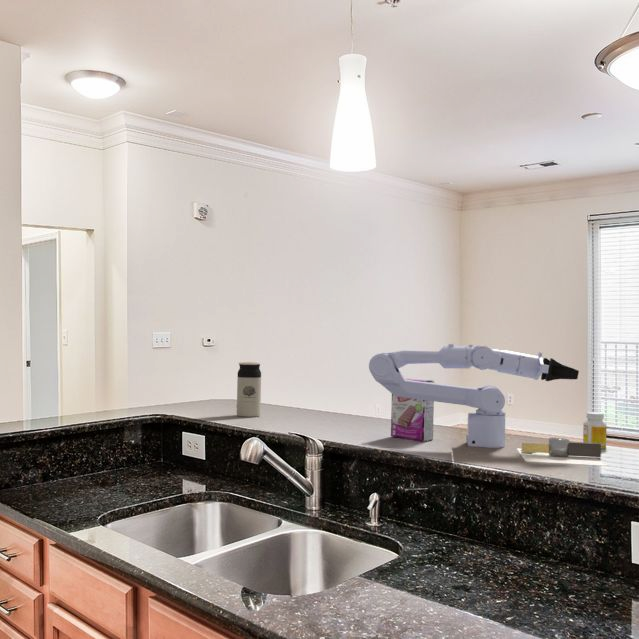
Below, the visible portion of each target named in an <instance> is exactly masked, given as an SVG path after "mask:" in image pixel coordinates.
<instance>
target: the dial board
mask: <svg viewBox="0 0 639 639" xmlns="http://www.w3.org/2000/svg"><path fill="white" fill-rule="evenodd" d="M515 449H516V451H518V453H519V454H520V456H521V457H522V459H523V460H524V461H525V462H526V463H528V462H529V463H549V464H564V465H565V464H567V465H582V466H583V465H587V466H589V465H590V466H604V467H605V466H606V467H607V466H609V465H608V464H607V463H606V462H604V461H602V460H601V459H599V457H585V456H553V455H549V453H539V452H522V447H521V448H520V447H518V448H515Z"/></svg>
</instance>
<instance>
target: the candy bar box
mask: <svg viewBox="0 0 639 639" xmlns="http://www.w3.org/2000/svg"><path fill="white" fill-rule="evenodd" d="M404 378H405V379H406V380H412V381H420V382H428V383H435V380H433V379H424V378H423V379H422V378H412V377H404ZM434 403H435V401H428V400H420V399H412V398H404V397H397V396H395V395H393V394H392V393H391V410H390V411H391V414H390V415H391V417H390V423H391V424H390V436H391V437H393V438H400V439H404V440H405V439H406V440H411V439H412V440H411V441H417V440H419V442H428V441H427V440H429V441H432V440H433V439H434V410H435V409H434V407H435V406H434V405H435V404H434Z"/></svg>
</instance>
